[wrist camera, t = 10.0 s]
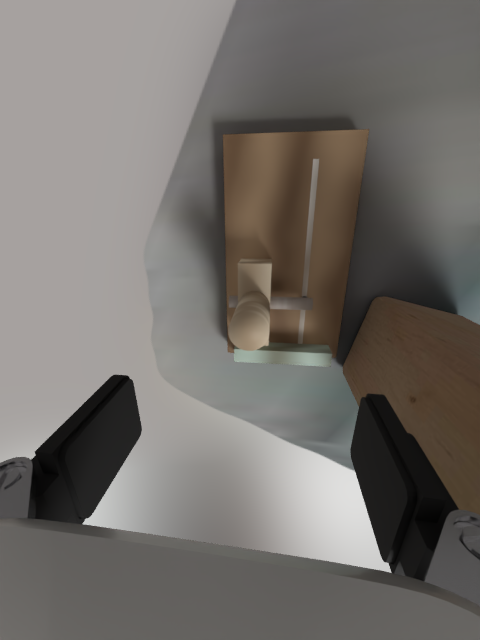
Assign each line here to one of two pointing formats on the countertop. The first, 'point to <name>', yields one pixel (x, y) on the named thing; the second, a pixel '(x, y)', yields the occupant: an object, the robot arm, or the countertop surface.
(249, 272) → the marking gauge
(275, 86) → the countertop surface
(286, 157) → the walnut board
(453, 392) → the wooden block
